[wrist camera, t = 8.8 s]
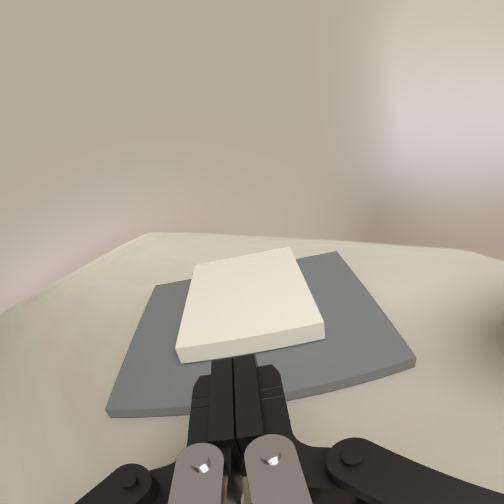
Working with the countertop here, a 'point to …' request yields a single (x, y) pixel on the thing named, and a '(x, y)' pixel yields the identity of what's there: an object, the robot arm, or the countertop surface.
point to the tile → (247, 307)
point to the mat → (283, 359)
